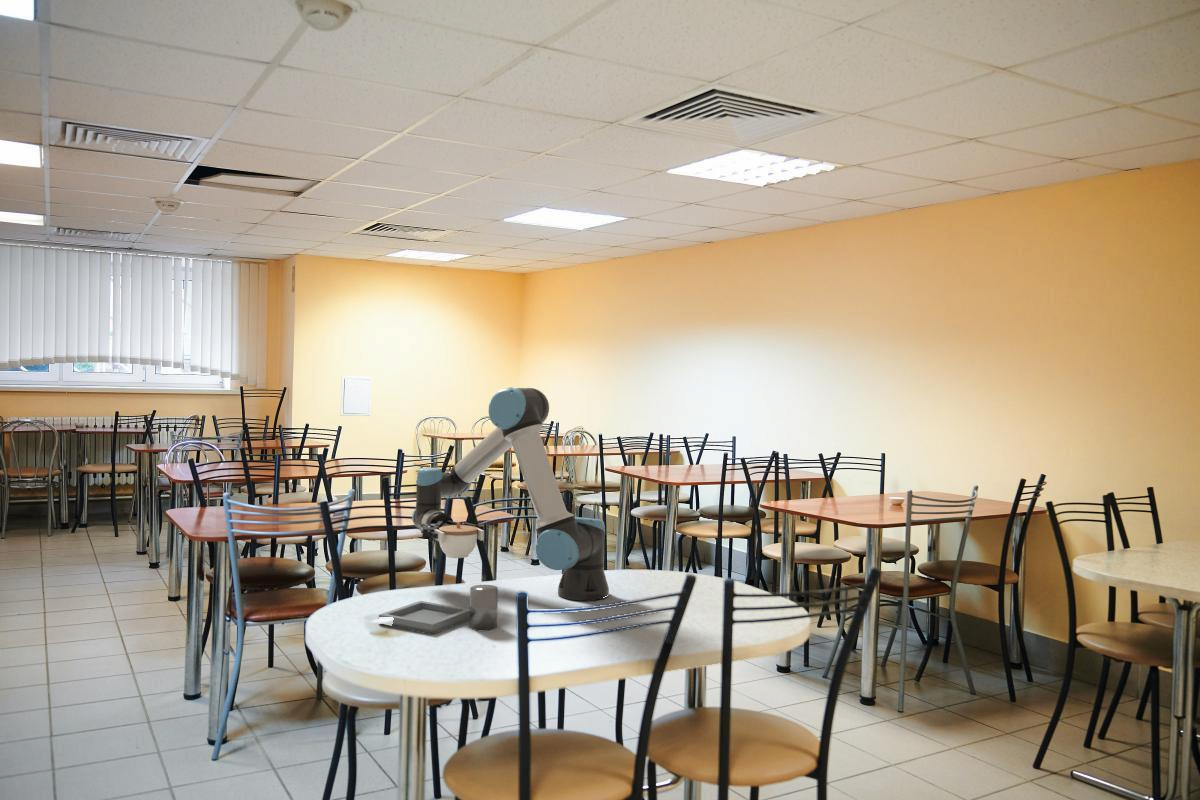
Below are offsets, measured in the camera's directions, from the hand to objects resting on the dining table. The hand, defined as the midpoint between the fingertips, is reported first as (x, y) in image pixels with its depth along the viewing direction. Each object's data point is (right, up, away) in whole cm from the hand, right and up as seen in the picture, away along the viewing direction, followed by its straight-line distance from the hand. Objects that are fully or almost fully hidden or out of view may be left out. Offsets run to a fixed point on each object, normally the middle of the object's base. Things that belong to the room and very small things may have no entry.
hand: (463, 536), depth 241 cm
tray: (-8, -20, -13) cm, 25 cm away
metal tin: (+8, -20, -16) cm, 27 cm away
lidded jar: (-2, -6, +4) cm, 7 cm away
